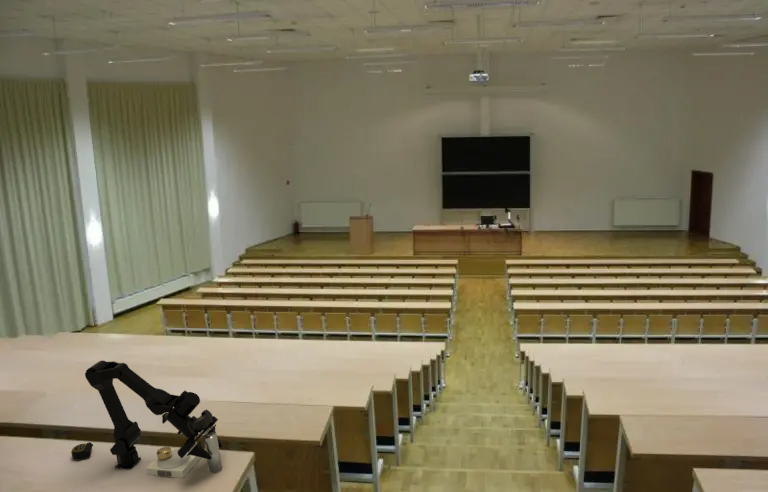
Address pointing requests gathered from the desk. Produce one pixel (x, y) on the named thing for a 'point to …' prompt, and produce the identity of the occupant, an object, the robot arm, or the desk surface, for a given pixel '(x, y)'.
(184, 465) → the scale
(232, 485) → the desk surface
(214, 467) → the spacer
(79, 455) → the tape measure
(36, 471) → the desk surface
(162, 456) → the brass weight
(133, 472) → the desk surface
